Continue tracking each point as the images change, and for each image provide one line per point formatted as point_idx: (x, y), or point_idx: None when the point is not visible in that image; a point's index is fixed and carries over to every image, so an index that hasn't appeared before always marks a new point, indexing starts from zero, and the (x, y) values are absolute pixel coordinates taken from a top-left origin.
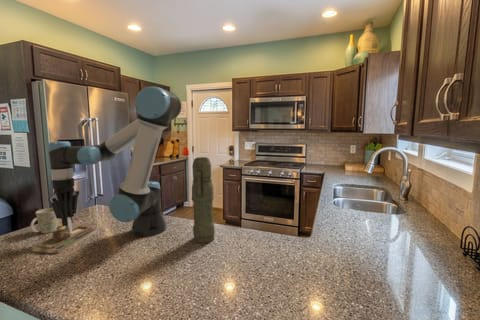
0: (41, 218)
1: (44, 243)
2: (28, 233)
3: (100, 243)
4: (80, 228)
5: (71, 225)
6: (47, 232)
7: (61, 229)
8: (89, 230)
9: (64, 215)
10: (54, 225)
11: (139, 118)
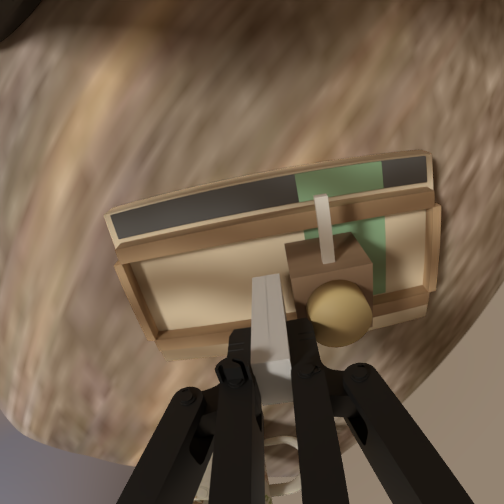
0: (266, 485)
1: (399, 296)
2: (278, 453)
3: (229, 10)
4: (154, 321)
5: (255, 307)
6: None
7: (356, 292)
8: (142, 238)
9: (327, 393)
10: None
11: None
